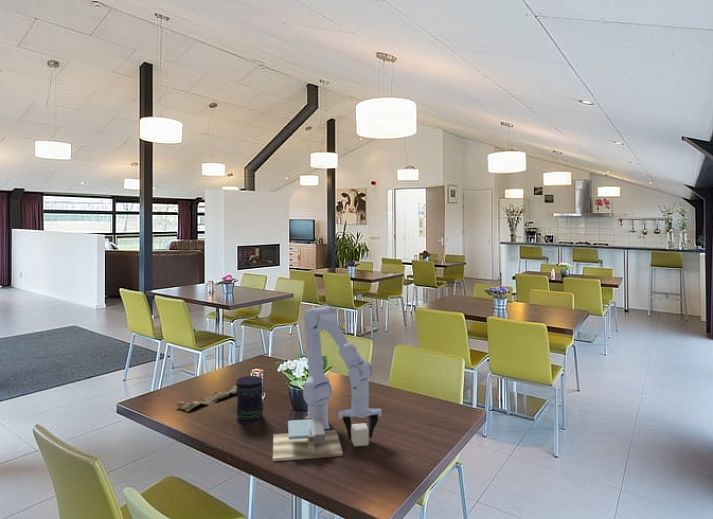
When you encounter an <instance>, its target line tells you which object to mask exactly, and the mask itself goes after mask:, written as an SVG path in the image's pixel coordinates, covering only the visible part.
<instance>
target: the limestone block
mask: <svg viewBox="0 0 713 519" xmlns="http://www.w3.org/2000/svg"><path fill="white" fill-rule="evenodd" d="M369 439H370V437H369V426H368V425H367V423H366V422H365V423H364V422H363V423H362V422H361V423H351V442H352V445H353V447H361V446H363V447H364V446H369V445H370V444H369V443H370V442H369Z"/></svg>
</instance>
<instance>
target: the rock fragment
mask: <svg viewBox="0 0 713 519" xmlns="http://www.w3.org/2000/svg"><path fill="white" fill-rule="evenodd" d="M232 387H233V388H234V389H231V388H232ZM236 387H237V384H236V385H234V386H231V387H230V389H231V390H230V391H229V392H228V391H225V392H222V391H221V390H219V391H215V392H214V394H216V393H218V395H215V396H214V397H211V396H207V397H208V398H205V397H204V398H205V399H206V402H204V401H200V402H198V400H194V402H193V401H191V402H184V401H182V400H176V401H175V404H176V406H177V407H179V408H180V409H181V410H184V411H185V412H189V411H191V410H192V409H194V408H196V407H198V406H200V405H207V406H208V404H210V403H213V402H218V401H219V399H220V400H221V399H224V398H227V397H229V395H231V394H233V395H234V394H235V393H237V391H236ZM192 402H193V403H192Z"/></svg>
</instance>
